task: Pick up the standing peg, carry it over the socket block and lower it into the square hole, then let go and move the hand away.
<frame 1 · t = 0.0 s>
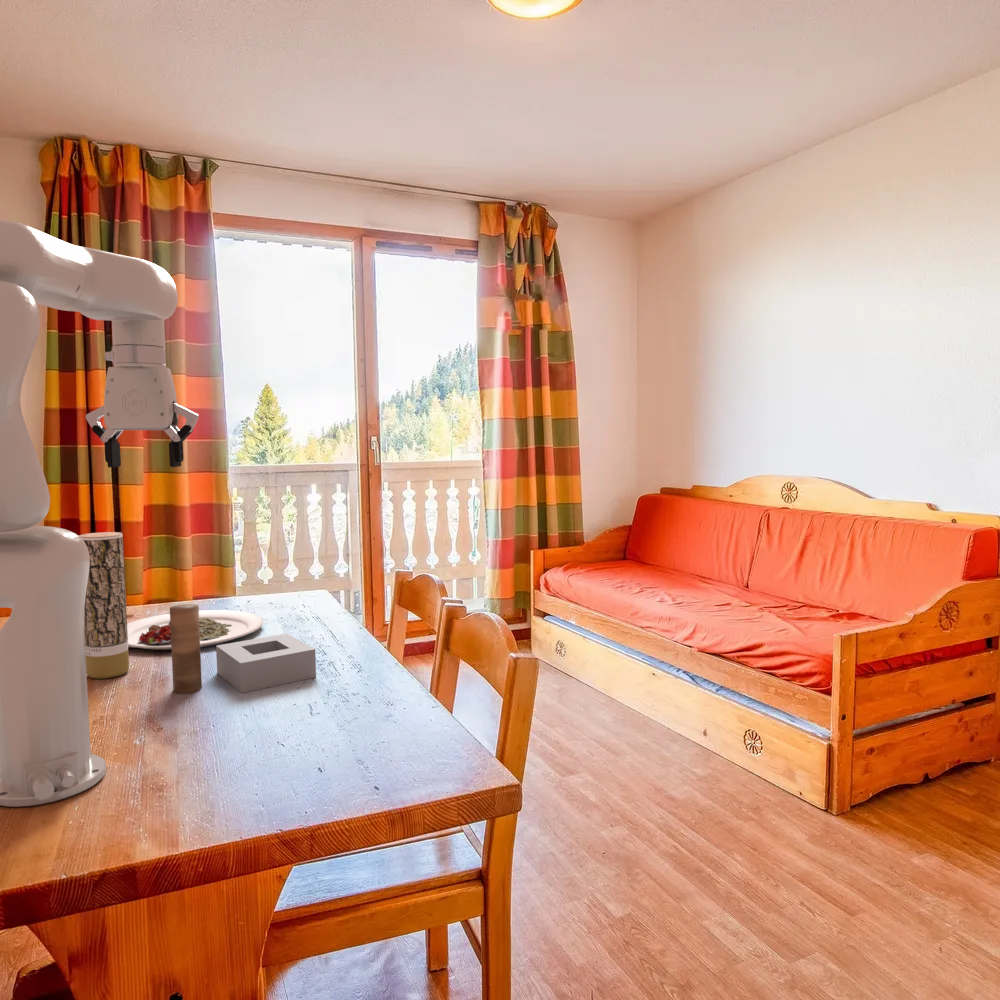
hand: (145, 466, 121), 37 cm above the table, tool pointing down, fingers open, 9 cm apart
peg: (187, 689, 126), on the table
socket: (266, 675, 133), on the table
paper tube: (108, 675, 134), on the table
plated food: (189, 636, 160), on the table
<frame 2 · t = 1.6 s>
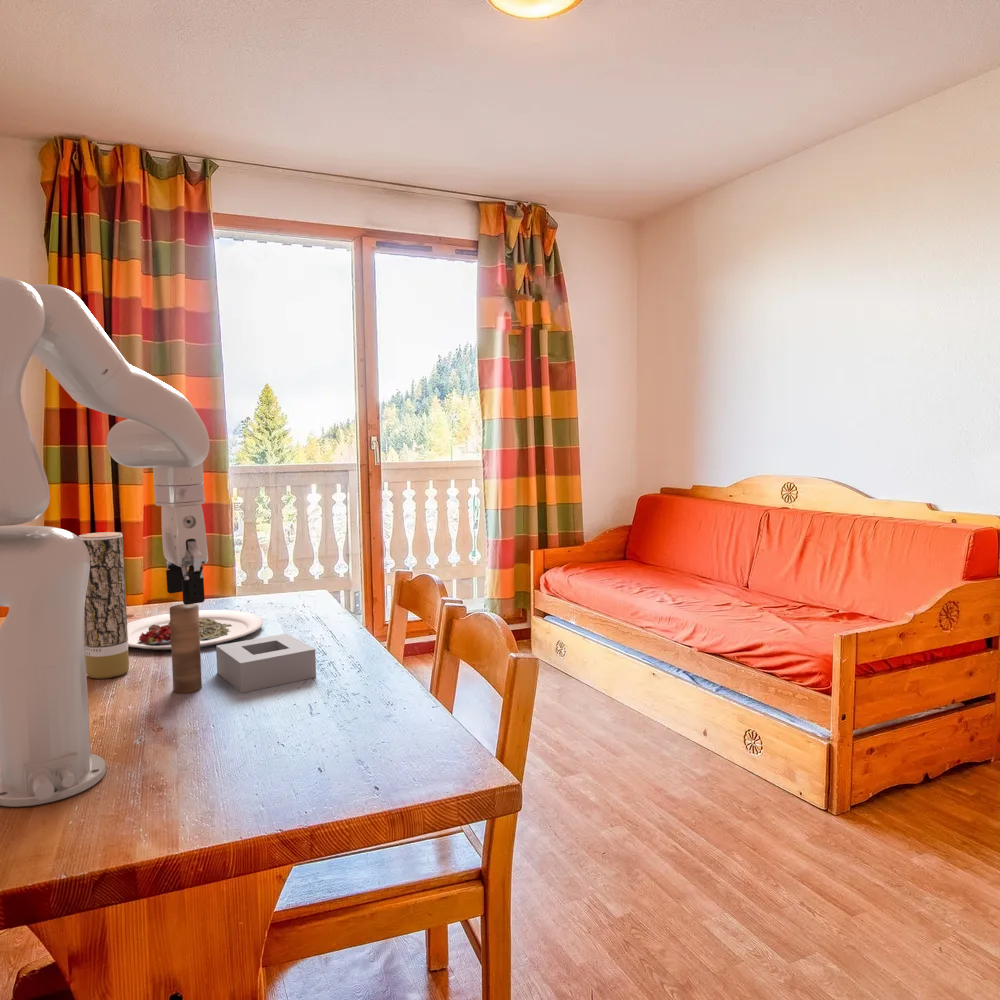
hand: (185, 597, 125), 15 cm above the table, tool pointing down, fingers open, 9 cm apart
nothing on the table moved.
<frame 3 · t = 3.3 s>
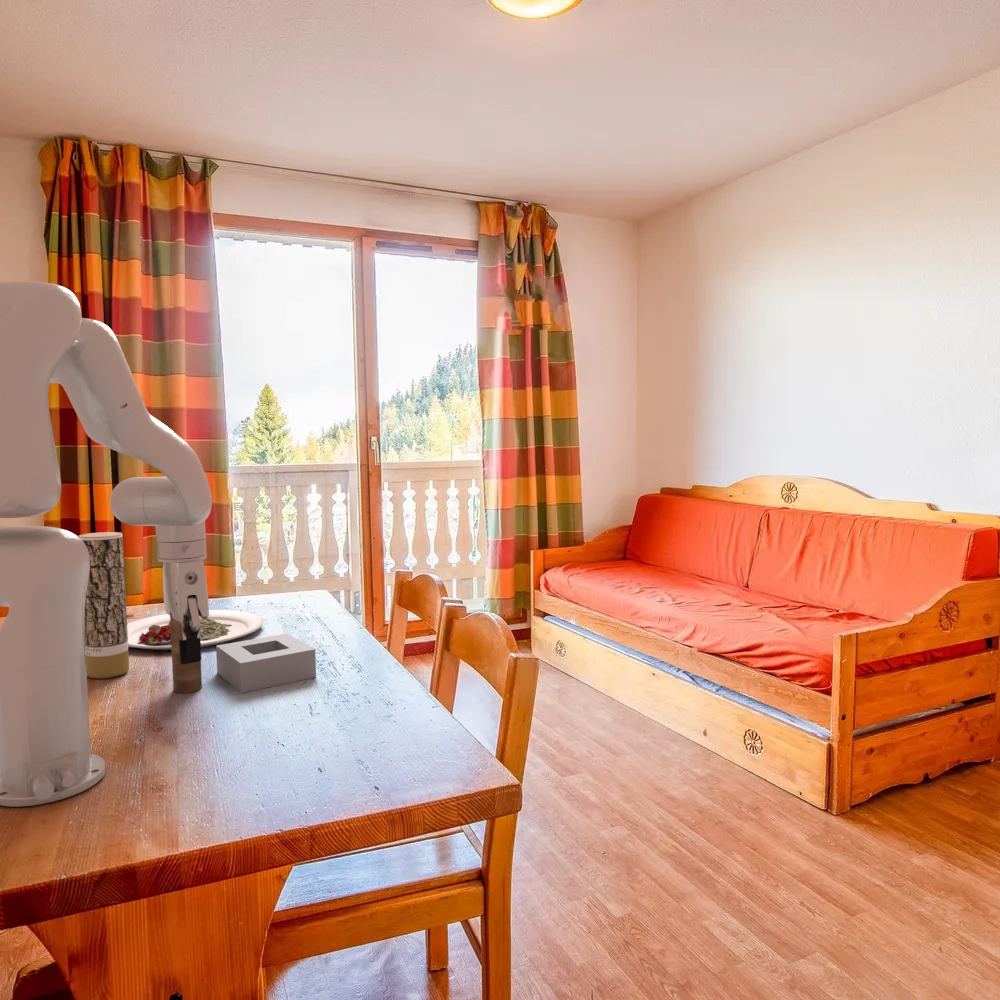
hand: (186, 657, 125), 5 cm above the table, tool pointing down, fingers closed on peg, 4 cm apart
peg: (187, 689, 126), on the table, touching gripper
everything else where it was.
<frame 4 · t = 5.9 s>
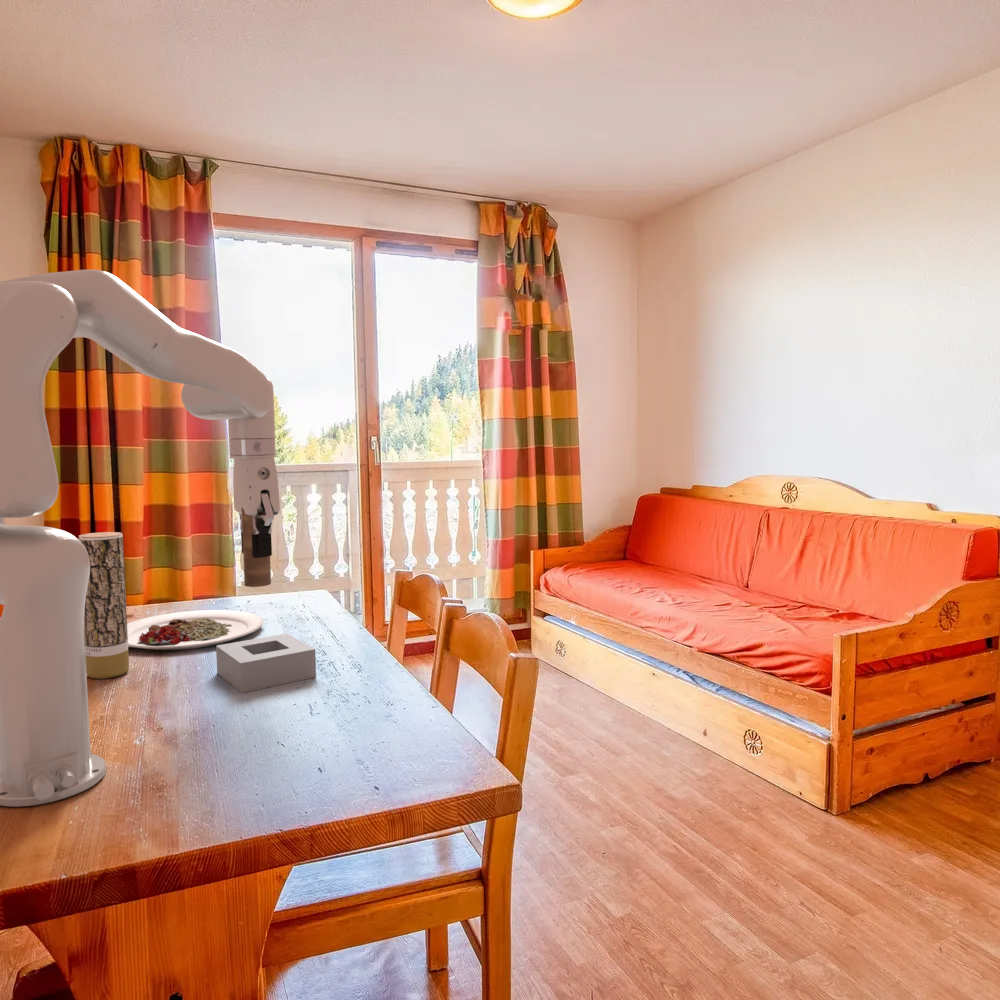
hand: (256, 553, 131), 22 cm above the table, tool pointing down, fingers closed on peg, 4 cm apart
peg: (257, 584, 131), point 16 cm above the table, touching gripper
everything else where it was.
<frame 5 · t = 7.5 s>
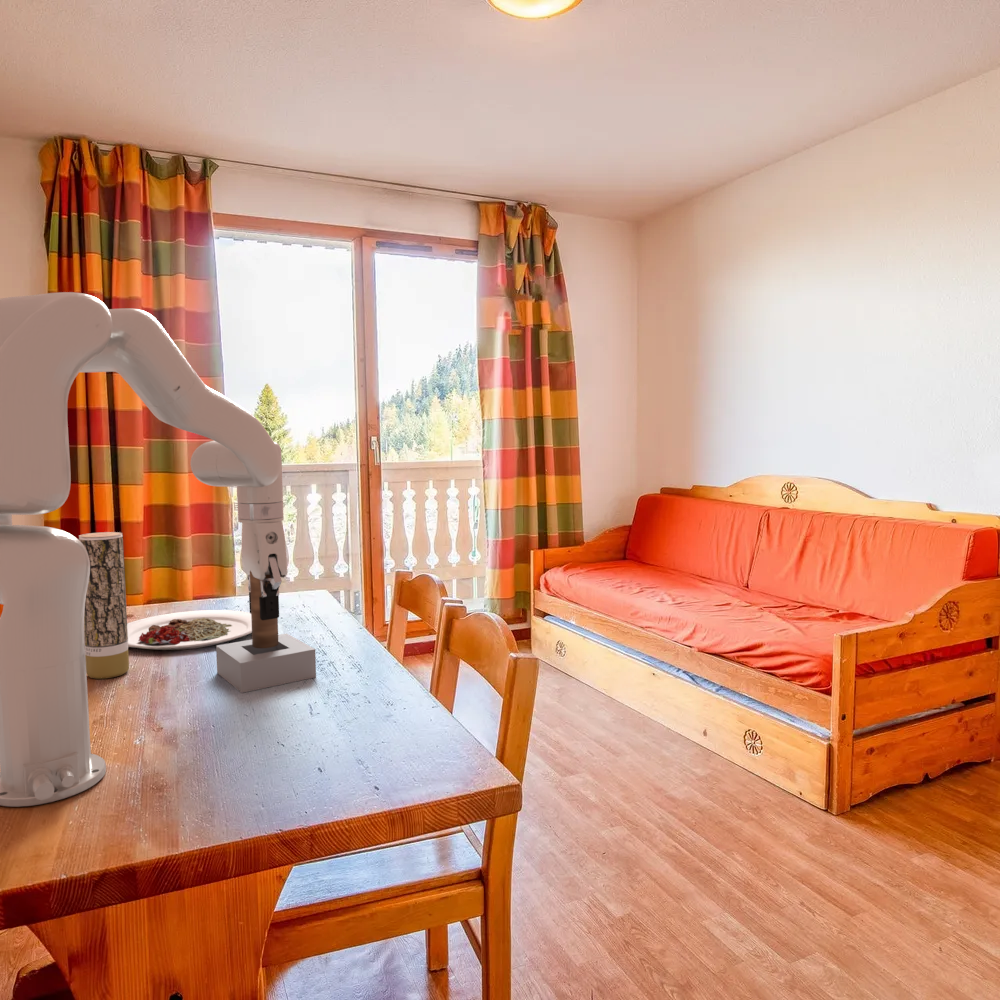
hand: (264, 614, 132), 11 cm above the table, tool pointing down, fingers closed on peg, 4 cm apart
peg: (265, 644, 133), point 5 cm above the table, touching gripper
everything else where it was.
when the fingers open (6 cm above the table, at t = 8.7 s): peg stays where it is, resting in socket.
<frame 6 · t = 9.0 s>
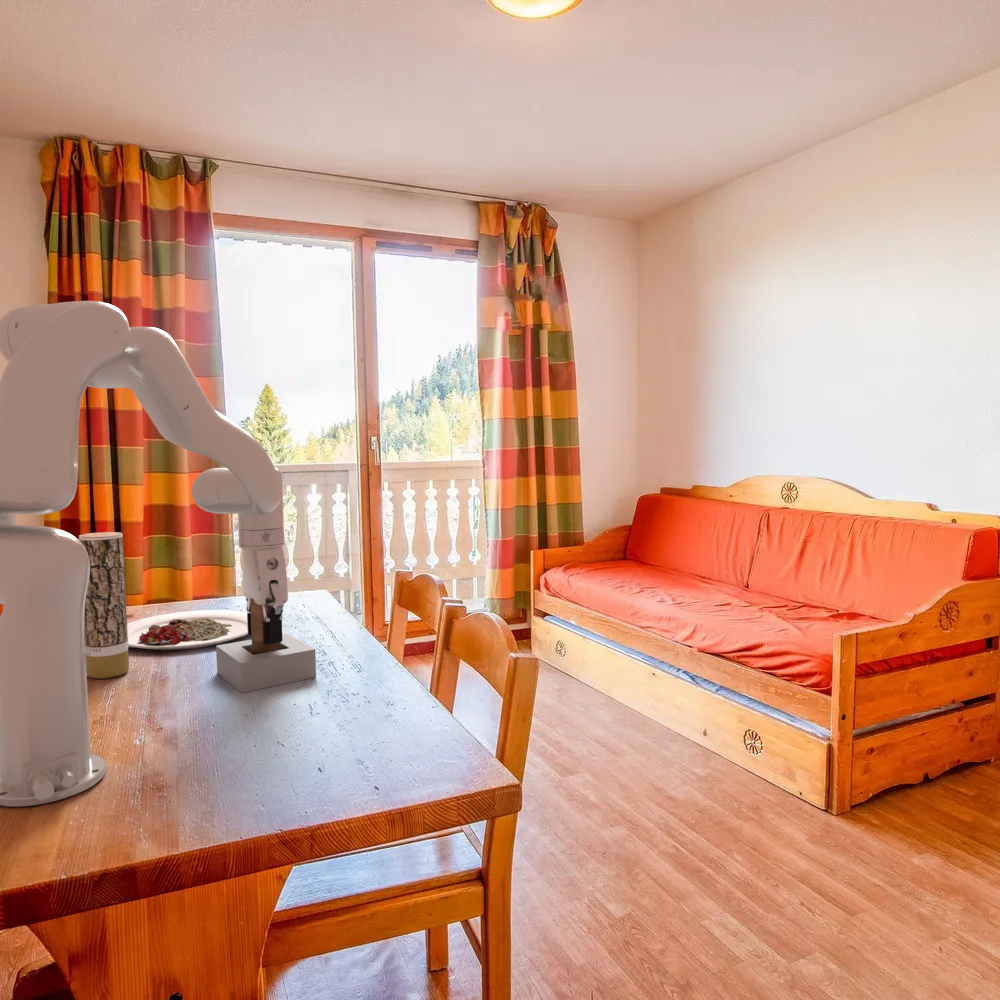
hand: (264, 637, 132), 7 cm above the table, tool pointing down, fingers open, 7 cm apart
peg: (265, 675, 133), resting in socket
everything else where it was.
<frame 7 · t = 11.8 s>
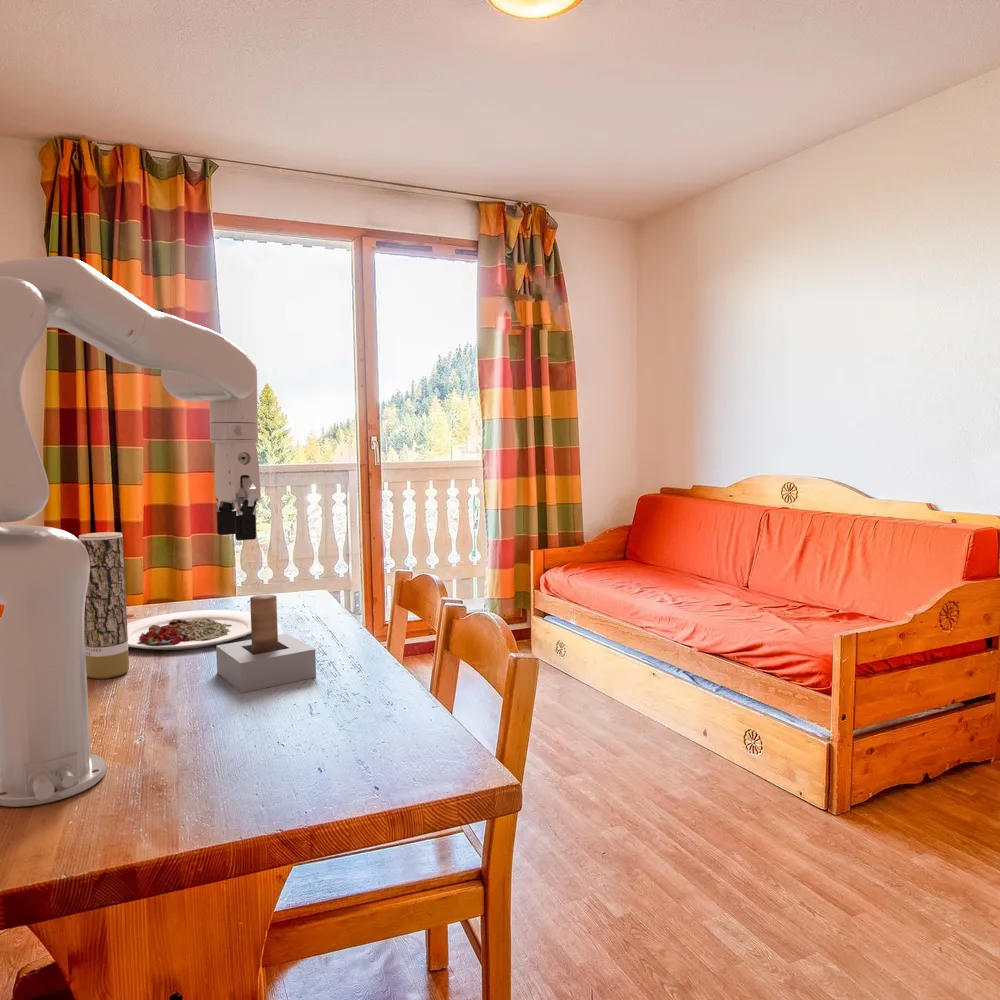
hand: (236, 536, 126), 25 cm above the table, tool pointing down, fingers open, 9 cm apart
nothing on the table moved.
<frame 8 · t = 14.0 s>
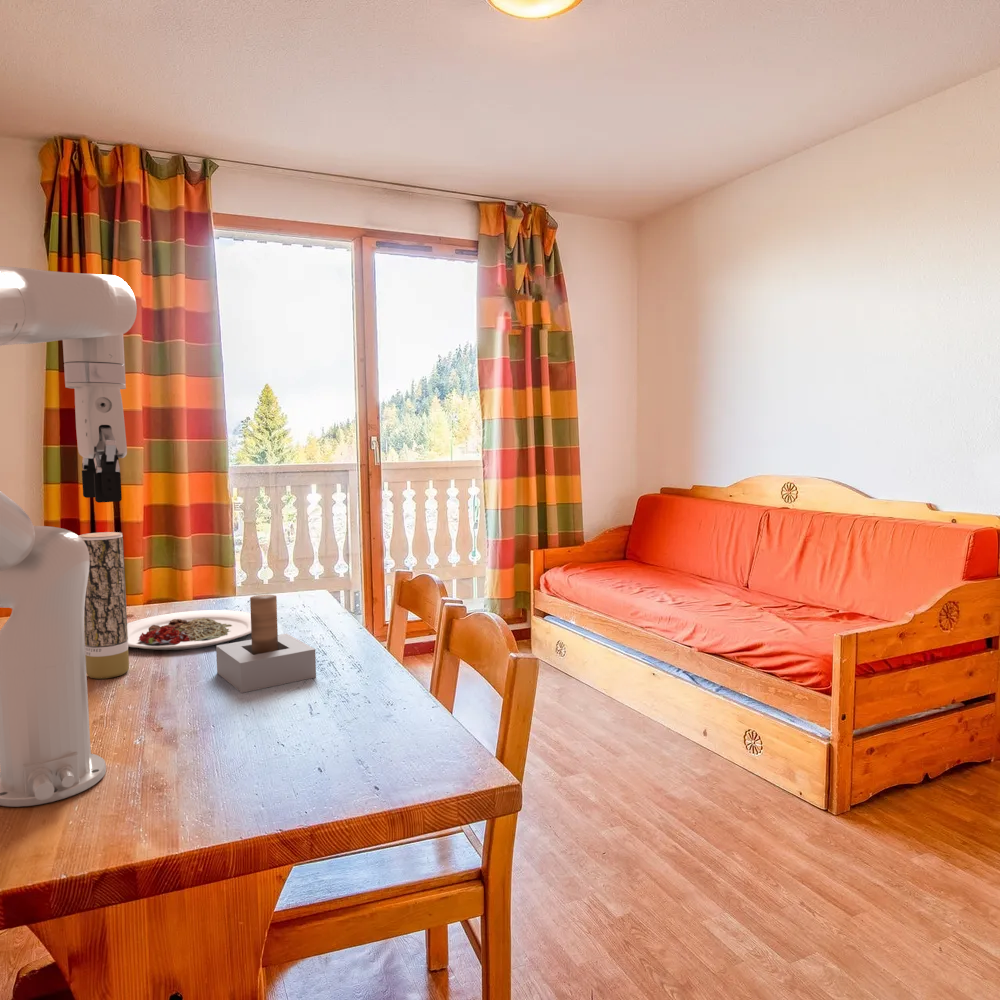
hand: (101, 499, 107), 33 cm above the table, tool pointing down, fingers open, 9 cm apart
nothing on the table moved.
at the end: peg 0.1 cm off-centre on the socket, point 0.0 cm above the socket's base; peg tilted 0°; the gripper is holding nothing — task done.
